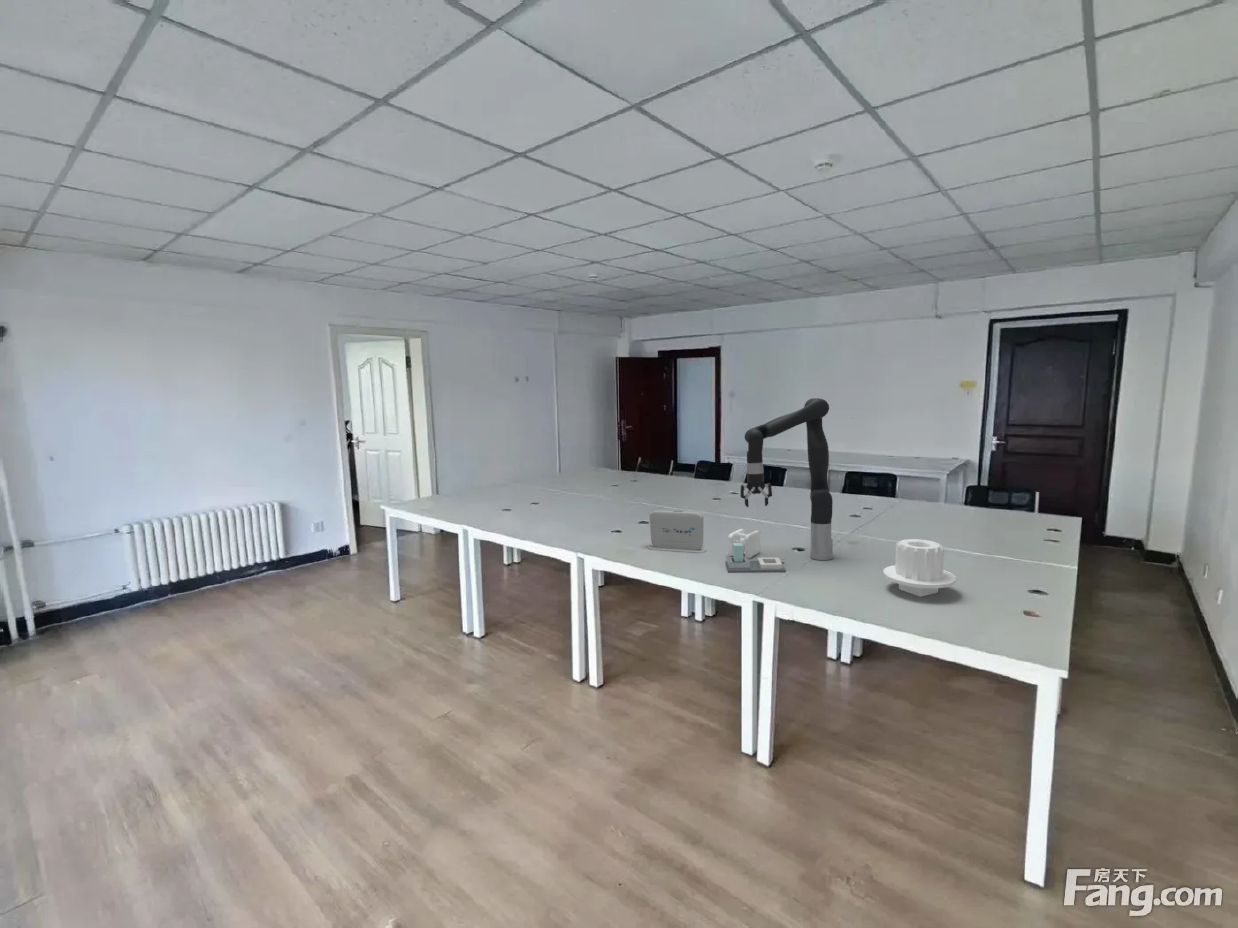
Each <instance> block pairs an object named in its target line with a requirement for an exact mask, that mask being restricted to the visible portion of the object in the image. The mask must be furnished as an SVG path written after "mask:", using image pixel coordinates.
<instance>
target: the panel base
mask: <svg viewBox="0 0 1238 928" xmlns="http://www.w3.org/2000/svg"><path fill="white" fill-rule="evenodd" d="M749 562H750V569H729V568H728V564H727V560H725V562H724V563H725V566H726V571H727V573H731V574H732V573H739V574H740V573H743V574H744V573H786V569H785V567H784V565H783V564H782V569H760V566H759V564H758V562H757V560H749Z"/></svg>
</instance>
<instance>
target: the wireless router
mask: <svg viewBox="0 0 1238 928" xmlns="http://www.w3.org/2000/svg"><path fill="white" fill-rule="evenodd" d="M704 522H705V521H704V516H703V514H702V513H701V512H698V511H683V510H664V509H663V510H658V509H657V510H653V511H652V512H650V514H649V528H650V540H651V541H650V542H651V544H650V545H648V546H647V549H648V550H650V551H657V552H658V551H659V552H675V553H691V554H701V553H705V552H707V551H708V549H707V548H706V547H703V545H704Z"/></svg>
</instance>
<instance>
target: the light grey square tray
mask: <svg viewBox="0 0 1238 928" xmlns="http://www.w3.org/2000/svg"><path fill="white" fill-rule="evenodd" d="M756 558H757V559H756V561H757V562H758V564H759V566H760V569H782V565H783V563H782V561H781V559H780V558H779V557H756Z"/></svg>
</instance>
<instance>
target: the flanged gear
mask: <svg viewBox="0 0 1238 928" xmlns="http://www.w3.org/2000/svg"><path fill="white" fill-rule="evenodd" d="M944 562H945V548H944V547H943V545H942V544H941V543H938V542H935V541H934V540H928V539H927V540H926V539H919V538H917V539H915V538H909V539H901V540H900V541H899V540H898V541H897V542H896V543H895V563H894V565H889V566H887V567H885V568H884V569H883V570H882V571H883V573H882V574H883V577H884V578H885V579H887V580H888V581H890V582H893V583H895V584H898V590H900V591H902V592H905V593H908V594H911V595H912V596H916V597H919V598H922V597H926V596H929V595H935V594H937V593H939V589H943V588H949V587H952V586H954V585H956V583H957V577H956V575H955V574H954V573H953V572H950V571H948V570H945V569H944Z"/></svg>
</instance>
